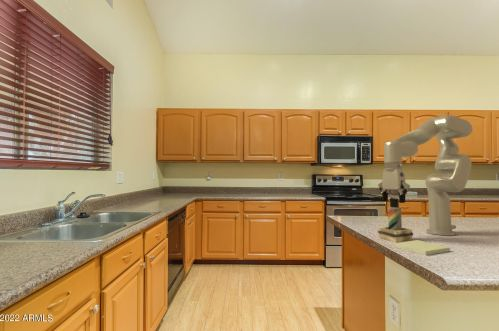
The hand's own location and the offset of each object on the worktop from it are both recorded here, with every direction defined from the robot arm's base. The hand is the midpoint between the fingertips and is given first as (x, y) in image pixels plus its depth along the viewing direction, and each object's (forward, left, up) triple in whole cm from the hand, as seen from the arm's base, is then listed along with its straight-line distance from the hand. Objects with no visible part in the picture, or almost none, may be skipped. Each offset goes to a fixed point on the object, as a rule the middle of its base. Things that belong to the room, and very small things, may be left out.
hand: (393, 201), depth 132 cm
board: (+4, +17, -18) cm, 25 cm away
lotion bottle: (-1, 0, -18) cm, 18 cm away
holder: (-1, 0, -18) cm, 18 cm away
